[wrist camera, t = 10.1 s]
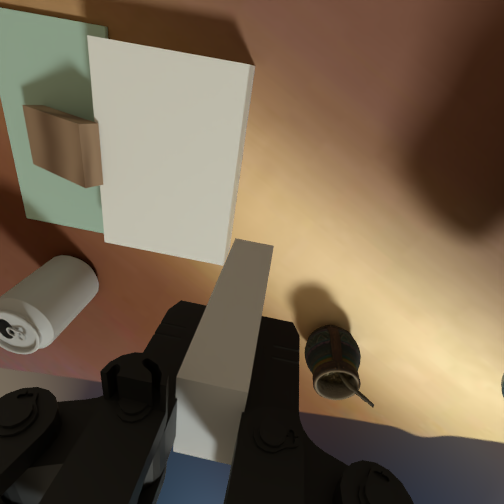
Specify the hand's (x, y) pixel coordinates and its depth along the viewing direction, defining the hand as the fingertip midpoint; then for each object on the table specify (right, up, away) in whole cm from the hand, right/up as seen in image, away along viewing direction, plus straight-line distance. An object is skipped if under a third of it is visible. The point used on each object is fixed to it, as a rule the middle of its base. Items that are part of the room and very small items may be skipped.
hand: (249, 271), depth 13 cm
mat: (-21, +14, +23) cm, 34 cm away
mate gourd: (+11, -11, +32) cm, 36 cm away
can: (-25, -2, +32) cm, 41 cm away
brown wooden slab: (-19, +12, +20) cm, 30 cm away
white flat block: (-8, +11, +22) cm, 26 cm away
